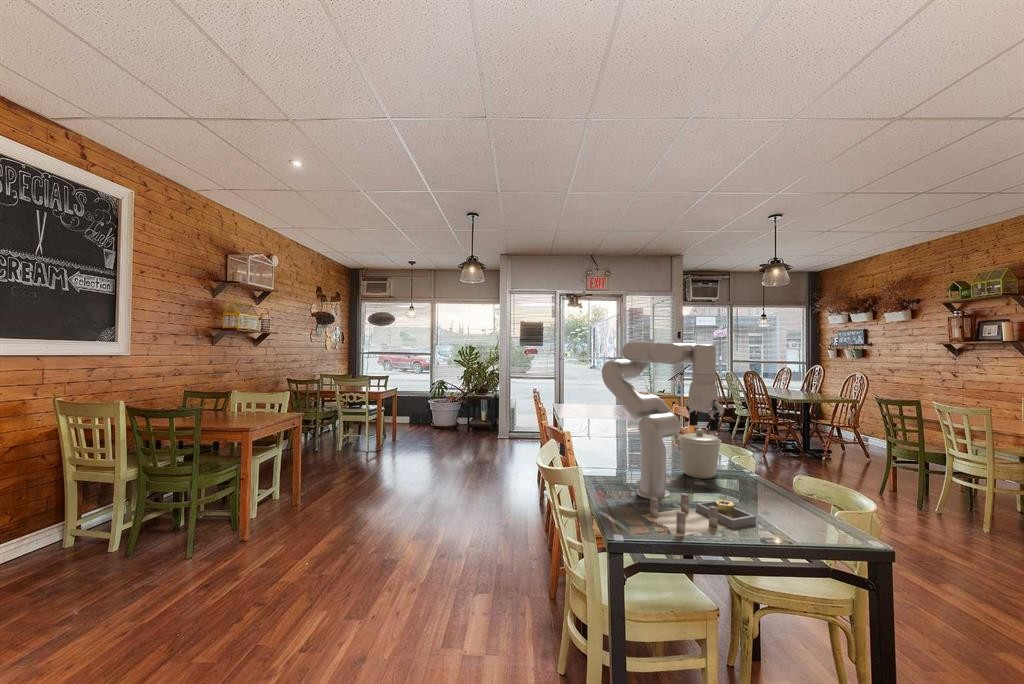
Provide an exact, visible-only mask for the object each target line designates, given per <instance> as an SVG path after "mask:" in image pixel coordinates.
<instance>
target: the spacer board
mask: <svg viewBox="0 0 1024 684" xmlns="http://www.w3.org/2000/svg"><path fill="white" fill-rule="evenodd" d="M649 500H650V502H649V505H650V507H649V508H650V510H649V513H647V514H646V513H645V514H642V515H640V516H641V517H643V518H645V519H647V520H648V521H649V522H651V523H653V522H652V521H654V522H660V523H662V524H663V526H666V527H668V529H669V531H670V532H669V533H670V534H672V535H673V534H674V536H675V537H677V536H678V537H677V538H679V537H684V536H690V535H694V534H695V535H696V534H700V533H701V534H702V533H705V532H711V531H716V530H722V529H727V528H728V527H729V526H727V525H725V524H722V523H720V522H718V508H717V507H715V506H709V517H708V516H706V515H704V514H702V513H700V512H698V511H696V510H695V511H694V510H693V509H691V508H689V507H690V495H689V493H684V492H683V493H680V508H679V509H673V510H665V511H660V512H659V499H657V498H650V499H649Z"/></svg>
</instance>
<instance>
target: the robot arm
mask: <svg viewBox="0 0 1024 684" xmlns="http://www.w3.org/2000/svg"><path fill="white" fill-rule="evenodd" d="M716 350H717V349H716V346H715V345H714V344H711V343H690V342H688V343H687V342H686V343H685V342H671V343H669V342H668V343H667V342H665V343H663V342H662V343H661V342H658V341H653V340H652V341H647V340H646V341H644V340H638V341H637V340H633V341H628V342H626V343H625V344H624V345H623V347H622V348H621V354H622V356H623V358H619V359H617V358H616V359H611V360H608V361H606V362H605V363H604V364H603V365H602V368H601V376H602V378H601V379H602V381H603V383H604V385H605V387H606V389H607V390H609V392H611V393H612V395H613V396H615V398H616V399H617V400H618V402H619V403H620V404H621V406H622V407H623V408H624V409H625V411H626V412H627V413H628V414H629V415H630V416H631V417H632V418H633V419H638V420H639V419H640V420H639V422H638V428H637V429H638V434H639V438H640V440H639V441H640V478H639V479H637V480H636V483H637V484H638V485H639V488H637V489H636V495H638V496H639V497H640V498H643V499H647V500H650V498H657V499H658V500H662V499H669V498H670V497H671V493H670V491H669V490H667V449H666V446H665V443H664V440H663V439H664V438H665V439H666V438H670V437H675V436H676V435H677V434H679V433H680V431H681V422H680V421H681V420H679V419H680V418H679V417H678V416H677V415H676V414H675V412H674V411H673V410H672V409H671V408H670V407H669V406H668V405H667V403H666V402H665V401H664V400H663V399H662V398H661V397H660V396H658V395H656V394H652V393H651V394H642V393H641V392H639V391H638V390H637V389H636V388H635V387H634V385H633V384H631V383H630V382H628V381H627V380H626V379H634V378H637V377H639V376H640V375H641V374H642V373H643V372H644V371H645V369H647V367H648V366H650V364H663V365H666V364H667V365H681V364H682V365H684V364H686V365H687V364H689V365H691V364H692V375H691V378H692V381H691V382H690V384H689V389H688V390H689V391H688V399H686V400H684V404H685V406H686V410H687V414H688V418H689V419H688V420H689V422H688V423H689V426H698V416H699V415H698V413H697V412H700V413H704V414H708V416H710V419H709V431H710V432H714V431H715V432H716V431H719V419H721V417H722V415H723V412H724V411H725V407H724V406H723V405H722V404H721V403H720V402H719V393H718V392H719V391H718V387H717V383H716V381H717V380H716V379H717V375H716V373H717V371H716V370H717V369H716V366H717V365H716V363H717V362H716V360H717V357H716V356H717V351H716Z"/></svg>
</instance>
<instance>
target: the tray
mask: <svg viewBox="0 0 1024 684" xmlns="http://www.w3.org/2000/svg"><path fill="white" fill-rule="evenodd" d="M718 500H719V499H717V500H716V499H715V500H709V501H703V502H697V503H695V512H697V513H699V514H701V515H703V516H705V517H707V518H709V506H715V501H718ZM756 518H757V517H756V515H754V514H751V513H749V512H747V511H745V510H743V509H740V508H738V507H735V506H734V519H732V518H729V517H727V516H725V515H723V514H721V513H719V512H718V523H720V524H722V525H724V526H726V527H729V528H731V529H736V528H741V527H746V526H752V525H754V526H756V525H757V524H756V522H757V519H756Z"/></svg>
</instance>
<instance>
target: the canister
mask: <svg viewBox="0 0 1024 684" xmlns="http://www.w3.org/2000/svg"><path fill="white" fill-rule="evenodd" d="M678 440H679V447H680V457H681V465H682V470H683V472H684V474H686V476H688V477H690V476H691V478H694V479H702V480H703V479H704V480H705V479H712V478H714V477H715V475H716V473H717V469H718V468H717V467H718V463H719V456H720V445H721V444H722V440H721V439H720V438H719V437H717V436H715V435H712V434H707V433H705V431H704V429H702V428H697V429H695V432H689V433H684V434H682V435H680V436H678Z"/></svg>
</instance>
